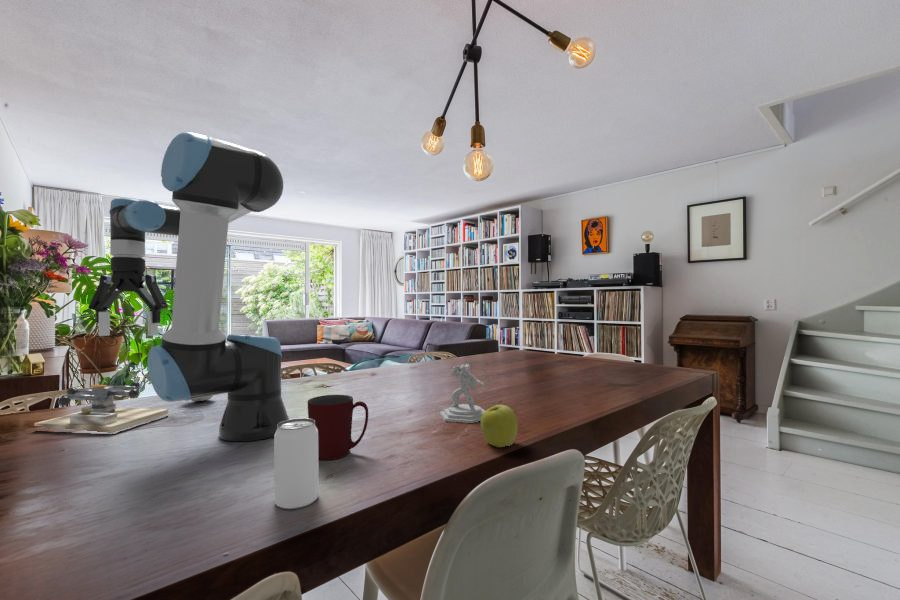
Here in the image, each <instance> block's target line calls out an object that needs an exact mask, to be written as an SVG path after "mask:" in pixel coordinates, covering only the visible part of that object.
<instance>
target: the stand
mask: <svg viewBox="0 0 900 600" xmlns="http://www.w3.org/2000/svg"><path fill="white" fill-rule="evenodd" d="M166 414H168V415H169V409H167V408H164V409H163V408H141V407H140V408H137V407H117V406H116V410H115V411H113V412H110V413H97V412H91V409H89V408H85V409H84V410H83V412H81V411H78V412H73V413H70V414H66V415H61V416H58V417H57V416H56V417H53V418H50V419H46V420H42V421H38V422H34V423H33V424H34V425H33V426H41V427H51V428H65V429H75V430H87V431H97V432H108V433H113V432H116V431H119V430H122V429H125V428H128V427H132V426H134V425H137V424H140V423H143V422H147V421H150V420H152V419H155V418H158V417H160V416H163V415H166Z"/></svg>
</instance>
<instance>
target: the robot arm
mask: <svg viewBox="0 0 900 600" xmlns="http://www.w3.org/2000/svg"><path fill="white" fill-rule="evenodd" d="M160 169H161V170H160V177H161V184H162V186H163V187H164V188H165V190H167V191H169V192H172V197H171V201H172V202H173V203H174V204H175V206H176V207H172V206H167V205H163V204H162V205H161V204H159V203H157V202H155V201H153V200H149V199H141V200H138V199H137V200H136V199H131V198H121V197H120V198H113V199H112V200H111V201H110V209H109V212H108V213H109V217H110V220H109V221H110V222H109V223H110V224H109V225H110V226H109V227H110V232H109V233H110V234H109V235H110V240H109V241H110V242H109V243H110V245H109V246H110V248H109V252H110V253H109V254H110V255H111V256H112V257H111V258H110V260H109V261H110V263H109V264H110V271H111V272H112V275H107V274H106V275H103V274H101V275H100V276H99V284H98V285H97V287H96V289H95V291H94V294H93V296H92V299H91V300H90V302H89V305H88V309H89V310H92V311H95V312H96V324H98V337H105V336H107V337H109V336H111V334H110V332H111V317H110V316H111V313H110V312H111V311H109V310H108V309H109V308H110V307H111V306H112V304H113V303H114V302H115V301H116V299H117V298H118V297H119V296H120V294H122V293H125V292H127V293H129V292H131V293H132V292H134V293H136V295H138V297H139V298H140V299H141V300H142V301H143V303H145V305H146V306H147V307H148V309H149V311H147V336H149V337H152V336H153V337H154V336H158V335H159V324H160V323H161V311H163V310H165V309H166V310H167V309H168V308H169V305H168V303H167V301H166V299H165V298H164V296H163V293H162V291H161V289H160V286H159V285H158V282H157V276H156V275H155V274H146V275H145V274H144V273H145V272H146V259H145V258H144V257H146V233H149V234H159V235H166V236H167V235H168V236H178V238H177V239H178V240H177V251H176V264H175V278H174V290H173V291H174V292H173V304H172V305H173V306H172V314H171V317H172V318H171V327H170V328H169V329H167V331H165V332H163V334H161V340H160V341H161V344H160V345H157V344H156V345H155V346H153V347H151V348H150V349H149V352H148V355H147V370H148V375H149V379H150V382H151V386H152V387H153V390H154V392H155V393H156V395H157V396H158V397H159V398H160V399H161V400H162V401H164V402H169V403H172V402H180V401H181V402H182V401H186V402H187V401H188V402H189V401H191V400H190V399H195V398H201V397H206V396H212V395H213V396H216V395H222V394H227V402H226V406H225V408H224V412H223V415H222V418H221V421H220V424H219V427H218V434H219V435H218V436H219V438H220V439H221V440H224V441H228V442H229V441H230V442H252V441H259V440H263V439H264V440H266V439H269V438H273V437H274V435H275V433H276V431H277V428H278V427H277V424H279V423H280V422H283V421H286V420H290V418H289V416H288V413H287V409H286V406H285V404H284V401H283V397H282V357H283V353H282V347H281V342H280V340H279V339H278V338H277V337H275V336H274V337H273V336H263V335H249V334H235V333H234V334H233V333H232V334H231V333H229V334H228V335H227V336H226V334H225V333H223V332H222V331H221V330H220V323H221V321H220V320H221V311H222V310H221V309H222V297H223V286H224V276H225V275H224V274H225V267H226V266H225V264H226V254H227V242H228V234H229V233H228V232H229V224H230V223H232V222H234V221H235V220H238V219H239V218H241V217H244V216H246V215H248V214H250V213H252V212H253V213H261V212H264V211H266V210H268V209H270V208H271V207H273V206H275V205H276V204H277V203H278V202H279V201H280V199H281V197H282V195H283V191H284V179H283V176H282V173H281V171H280V169H279V167H278V166H277V164H276V163H275V162H274V161H273V160H272V159H271V158H270V157H269V156H267V155H266V154H264V153H262V152H260V151H257V150H255V149H252V148H251V149H250V148H246V147H243V146H241V145H237V144H235V143H231V142H229V141H224V140H222V139H219V138H216V137H213V136H210V135H205V134H204V135H203V134H200V133H195V132H191V131H190V132H189V131H185V132H184V131H183V132H181V133H178V134H177V135H175V136H174V137H173V139H172V140H171V141H170V143H168V146H167V148H166V151H165V152H164V156H163V159H162V163H161V168H160ZM144 283H145V285H146V286H145V285H144ZM213 396H212V397H213Z"/></svg>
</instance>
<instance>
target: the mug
mask: <svg viewBox="0 0 900 600" xmlns="http://www.w3.org/2000/svg"><path fill="white" fill-rule="evenodd" d="M357 407H362V408H363V409H364V411H365V418H364V425H363V429H362V431H361V433H360V435H359V437H358V438H357V439H356V440H355V441H354V440H352V430H353V429H352V428H353V412H354V409H355V408H357ZM307 415H308V416H307V417H308V419H313V420H315V426H316V428H317V430H318V461H319V460H320V461H333V460H337V459H341V458H344V457H346V456H348V455H349V454H350V451H351V449H353V448H355V447H357V446H358V444H359V443H360V442H361V441H362V439H363V437H364V435H365V433H366V430H367V429H368V424H369V423H368V421H369V408H368V406H367V404H366V403H365V402H364V401H361V400H359V401H356V402H355V403H354V398H353V396H350V395H347V394H346V395H345V394H327V395H320V396H315V397H311V398H310V399H308V400H307Z"/></svg>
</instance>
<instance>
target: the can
mask: <svg viewBox="0 0 900 600" xmlns="http://www.w3.org/2000/svg"><path fill="white" fill-rule="evenodd" d="M277 427H278V428H277V431H276V433H275V435H274V436H273V437H274V438H273V462H274V463H273V465H274V466H273V473H274V474H273V477H274V478H273V480H274V485H273V487H274V489H273V490H274V504H275V505H276V506H277V507H278V508H279V509H282V510H298V509H299V510H300V509H303V508H305V507H309V506H310V505H312V504H313V503H315V502H316V501H317V499H318V498H319V493H320V491H319V481H320V480H319V476H320V475H319V469H320V467H319V466H320V465H319V460H318V430H317V428H316V426H315V420H313V419H308V418H306V417H304V418H303V417H300V418H292V419H291V418H289V420H286V421H283V422H280V423H279V424H277Z"/></svg>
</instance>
